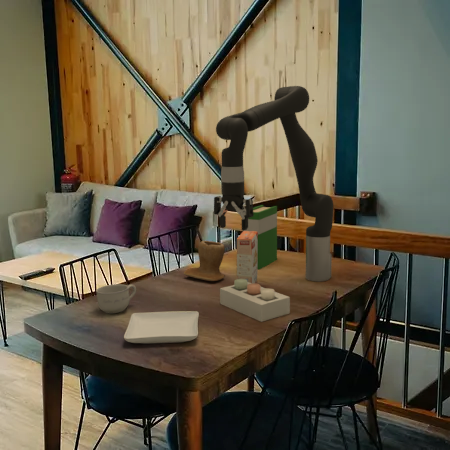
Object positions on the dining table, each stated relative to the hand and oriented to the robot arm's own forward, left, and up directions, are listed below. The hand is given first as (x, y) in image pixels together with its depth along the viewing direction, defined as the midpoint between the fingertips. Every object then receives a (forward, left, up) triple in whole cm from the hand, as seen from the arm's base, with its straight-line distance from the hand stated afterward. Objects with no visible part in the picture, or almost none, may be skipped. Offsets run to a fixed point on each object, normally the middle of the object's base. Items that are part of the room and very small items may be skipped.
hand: (233, 228), depth 190 cm
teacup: (+33, -21, -27) cm, 48 cm away
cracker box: (-14, -10, -27) cm, 32 cm away
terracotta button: (-3, +7, -21) cm, 22 cm away
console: (-3, +7, -26) cm, 27 cm away
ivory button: (-3, +14, -21) cm, 25 cm away
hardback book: (-41, -35, -27) cm, 60 cm away
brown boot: (-11, -32, -27) cm, 43 cm away
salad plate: (+32, +6, -27) cm, 42 cm away
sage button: (-3, 0, -21) cm, 21 cm away
